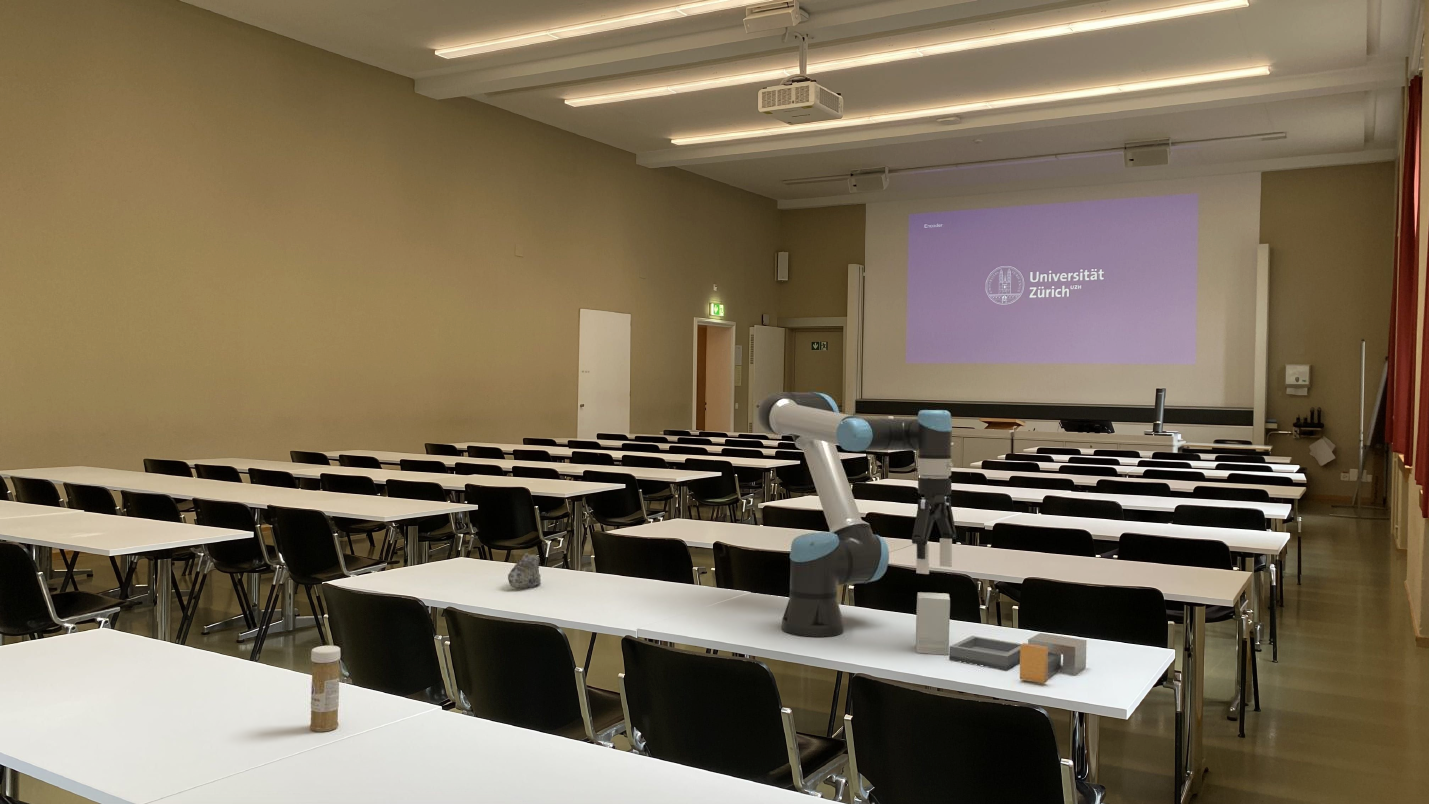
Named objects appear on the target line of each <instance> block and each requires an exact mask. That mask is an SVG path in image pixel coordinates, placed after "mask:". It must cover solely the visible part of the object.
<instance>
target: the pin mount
mask: <svg viewBox="0 0 1429 804" xmlns="http://www.w3.org/2000/svg"><path fill="white" fill-rule="evenodd" d="M1087 642H1088V641H1087V639H1083V638H1081V639H1080V638H1074V637H1070V636H1069V637H1068V636H1061V635H1054V634H1050V633H1043V632H1039V633H1037V634H1036V635H1033V636H1032V637H1030V638H1029V639H1027V644H1033V645H1039V646H1045V647H1048V652H1050V653H1056V654H1061V656H1062V674H1063V675H1067V676H1068V675H1069V676H1077V675H1078V674H1079V673H1081V672H1083V670H1085V669H1086V667H1087Z"/></svg>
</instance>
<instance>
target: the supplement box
mask: <svg viewBox="0 0 1429 804" xmlns="http://www.w3.org/2000/svg"><path fill="white" fill-rule="evenodd" d="M950 615H951V598H950V594H949V593H944V592H943V593H940V592H939V593H938V592H922V591H920V592H917V595H916V618H915V621H916V622H915V623H916V625H915V653H917V654H929V655H930V654H931V655H940V654H943V656H948V655H949V650H950Z"/></svg>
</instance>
